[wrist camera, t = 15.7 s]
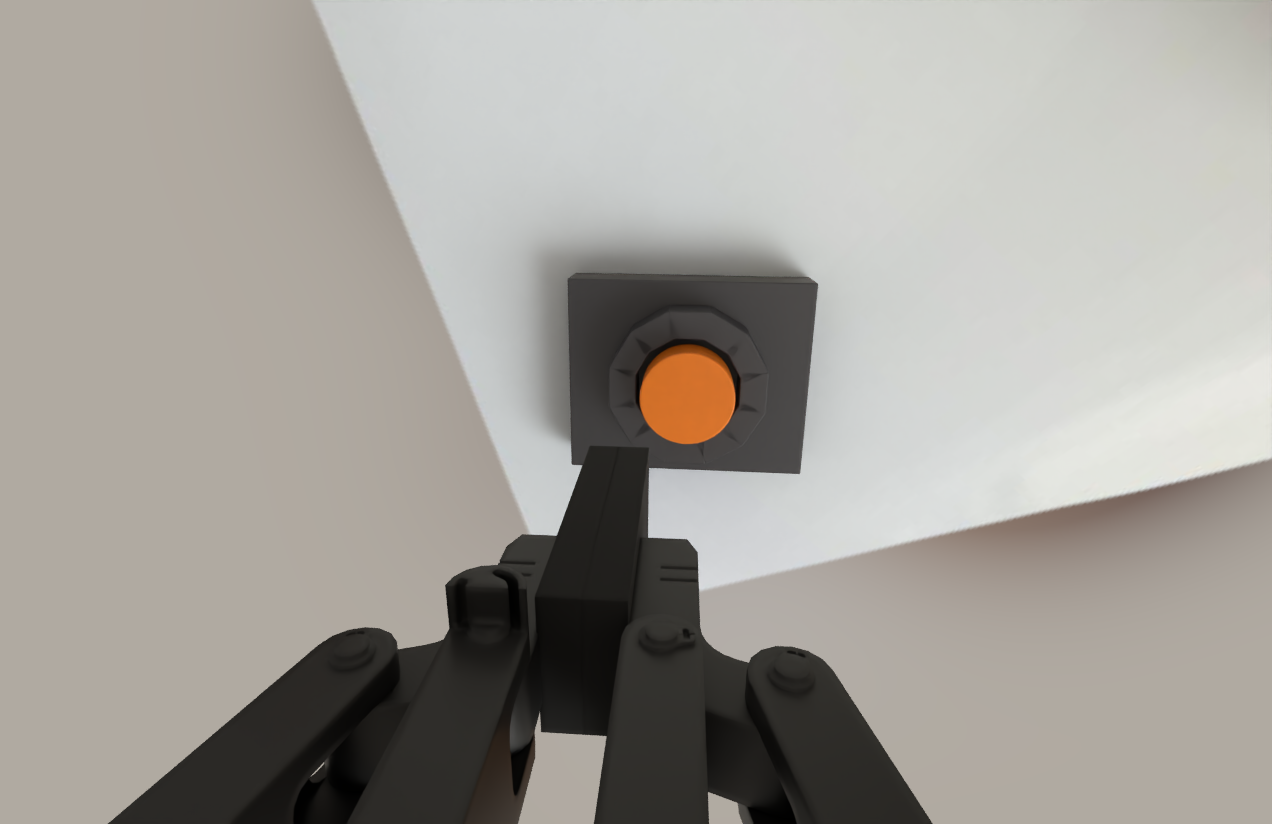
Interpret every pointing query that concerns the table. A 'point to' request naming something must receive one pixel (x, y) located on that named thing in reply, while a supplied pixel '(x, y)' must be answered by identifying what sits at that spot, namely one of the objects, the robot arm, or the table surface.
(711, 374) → the button
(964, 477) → the table surface
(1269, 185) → the table surface
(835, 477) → the table surface
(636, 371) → the control block
